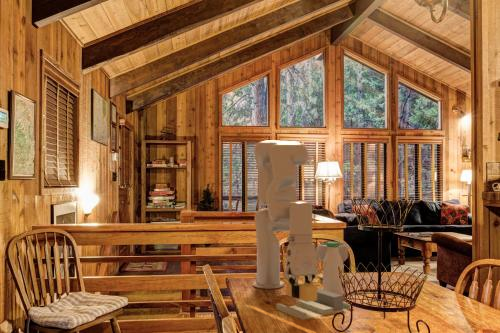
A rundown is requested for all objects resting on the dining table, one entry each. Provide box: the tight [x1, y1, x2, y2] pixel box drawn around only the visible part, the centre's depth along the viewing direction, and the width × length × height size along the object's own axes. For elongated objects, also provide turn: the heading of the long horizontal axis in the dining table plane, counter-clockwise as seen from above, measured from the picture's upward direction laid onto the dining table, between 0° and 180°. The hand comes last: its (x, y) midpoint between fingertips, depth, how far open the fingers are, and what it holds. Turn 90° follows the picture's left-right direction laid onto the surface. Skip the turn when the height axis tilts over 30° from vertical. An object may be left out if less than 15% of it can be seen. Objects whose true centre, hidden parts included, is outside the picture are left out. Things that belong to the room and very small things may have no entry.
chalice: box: [316, 241, 349, 280], centre depth 209 cm, size 14×14×15 cm
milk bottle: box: [322, 241, 345, 296], centre depth 177 cm, size 8×8×20 cm
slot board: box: [275, 299, 351, 321], centre depth 155 cm, size 14×21×3 cm, turn 122°
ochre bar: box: [285, 280, 318, 302], centre depth 152 cm, size 11×4×4 cm, turn 32°
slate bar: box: [314, 288, 344, 311], centre depth 158 cm, size 11×4×4 cm, turn 32°
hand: (301, 296), depth 152 cm, fingers closed on ochre bar, 4 cm apart
